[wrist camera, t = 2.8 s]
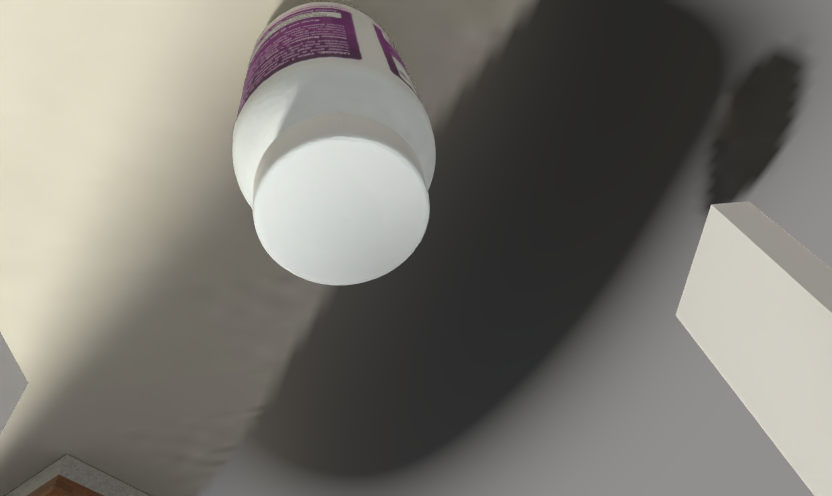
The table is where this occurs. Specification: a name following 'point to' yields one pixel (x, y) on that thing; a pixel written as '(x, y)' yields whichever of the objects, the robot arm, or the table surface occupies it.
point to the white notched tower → (74, 481)
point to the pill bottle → (333, 146)
